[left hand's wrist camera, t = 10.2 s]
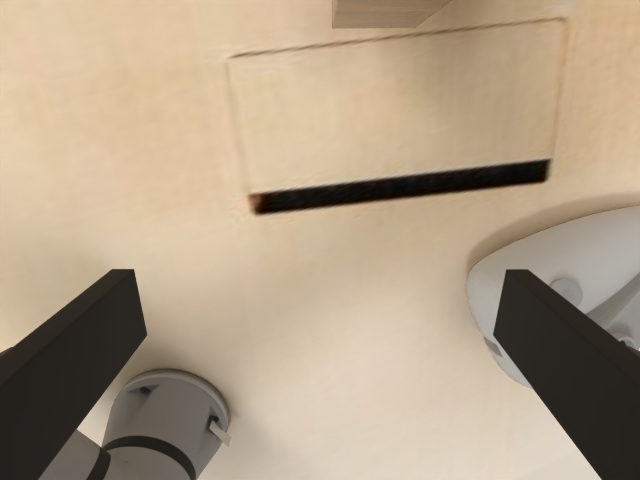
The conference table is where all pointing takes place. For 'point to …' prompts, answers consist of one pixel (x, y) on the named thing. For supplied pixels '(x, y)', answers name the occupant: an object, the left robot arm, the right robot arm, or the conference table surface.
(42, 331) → the left robot arm
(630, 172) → the conference table surface
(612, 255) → the projector
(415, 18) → the bar
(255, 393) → the conference table surface
